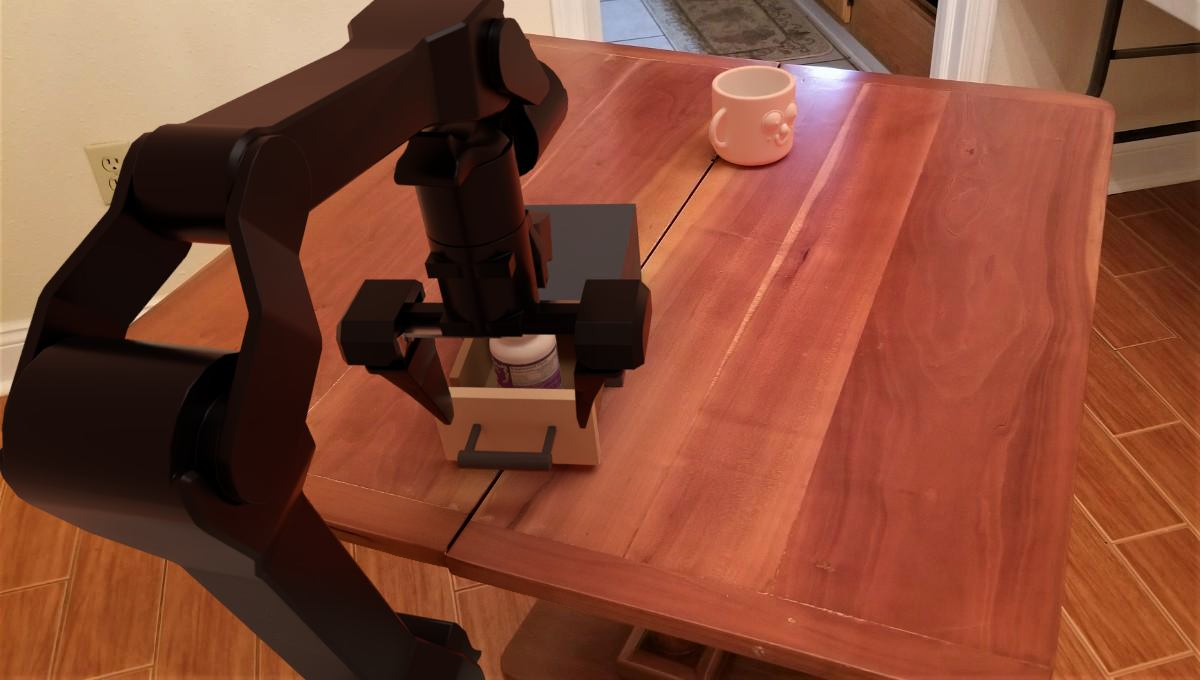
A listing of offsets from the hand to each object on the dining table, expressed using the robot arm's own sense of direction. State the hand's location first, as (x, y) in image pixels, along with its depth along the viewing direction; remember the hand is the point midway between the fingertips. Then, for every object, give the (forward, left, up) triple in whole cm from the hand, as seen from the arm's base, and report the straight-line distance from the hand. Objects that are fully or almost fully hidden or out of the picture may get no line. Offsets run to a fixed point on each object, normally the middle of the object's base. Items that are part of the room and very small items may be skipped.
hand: (516, 422), depth 62 cm
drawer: (+5, +12, -11) cm, 17 cm away
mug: (+46, +42, -12) cm, 63 cm away
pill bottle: (+5, +12, -10) cm, 17 cm away
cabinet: (+12, +23, -12) cm, 29 cm away
